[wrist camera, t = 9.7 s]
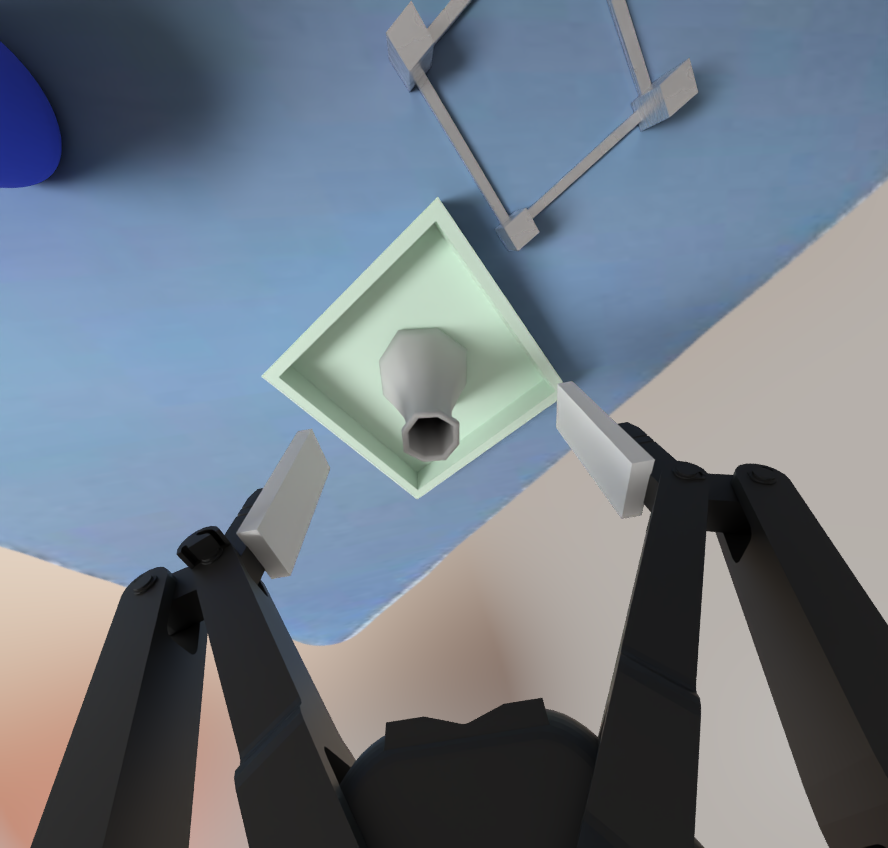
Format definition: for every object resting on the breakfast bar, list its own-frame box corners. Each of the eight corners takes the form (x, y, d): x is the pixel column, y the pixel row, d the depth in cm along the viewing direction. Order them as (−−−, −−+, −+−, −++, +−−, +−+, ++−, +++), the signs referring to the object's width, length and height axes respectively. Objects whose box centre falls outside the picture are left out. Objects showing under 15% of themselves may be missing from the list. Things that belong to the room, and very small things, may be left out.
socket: (579, -175, 14) (610, -252, 12) (665, 109, 19) (698, 92, 17) (388, 59, 17) (385, 32, 15) (507, 250, 22) (518, 251, 20)
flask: (388, 313, 23) (376, 356, 14) (481, 340, 24) (520, 393, 16) (370, 400, 26) (350, 478, 17) (452, 419, 28) (471, 499, 19)
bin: (434, 202, 20) (437, 196, 18) (554, 377, 27) (569, 391, 25) (277, 362, 24) (261, 376, 22) (416, 478, 31) (417, 499, 29)
